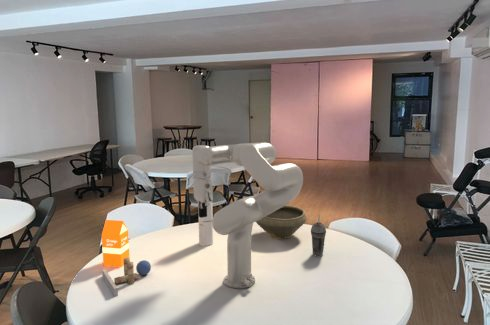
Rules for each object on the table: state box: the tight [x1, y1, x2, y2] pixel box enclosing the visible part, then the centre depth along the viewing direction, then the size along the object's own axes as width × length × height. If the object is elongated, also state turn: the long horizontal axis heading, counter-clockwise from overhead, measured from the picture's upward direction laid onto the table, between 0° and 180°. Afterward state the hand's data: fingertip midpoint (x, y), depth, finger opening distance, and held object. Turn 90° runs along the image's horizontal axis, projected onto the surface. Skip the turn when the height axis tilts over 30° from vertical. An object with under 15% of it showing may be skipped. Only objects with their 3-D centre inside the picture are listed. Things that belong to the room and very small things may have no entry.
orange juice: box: [101, 219, 130, 268], centre depth 175 cm, size 8×9×20 cm
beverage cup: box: [310, 213, 327, 257], centre depth 183 cm, size 7×7×20 cm
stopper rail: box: [101, 268, 119, 297], centre depth 154 cm, size 20×1×3 cm, turn 32°
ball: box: [135, 259, 152, 276], centre depth 164 cm, size 6×6×6 cm
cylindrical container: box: [197, 201, 214, 247], centre depth 198 cm, size 7×7×25 cm
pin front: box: [113, 272, 138, 285], centre depth 158 cm, size 2×2×8 cm
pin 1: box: [123, 258, 131, 276], centre depth 160 cm, size 2×2×8 cm
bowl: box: [255, 205, 307, 240], centre depth 210 cm, size 28×28×14 cm
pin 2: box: [127, 261, 135, 285], centre depth 156 cm, size 2×2×8 cm
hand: (202, 216), depth 167 cm, fingers closed
